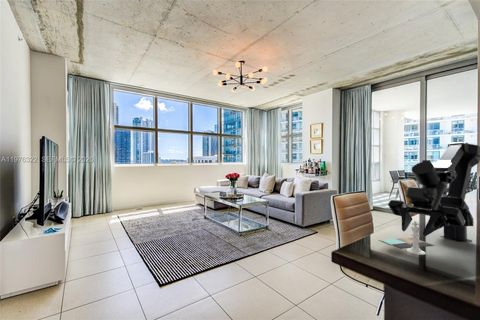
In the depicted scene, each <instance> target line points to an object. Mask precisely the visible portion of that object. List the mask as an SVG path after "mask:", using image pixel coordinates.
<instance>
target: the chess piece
mask: <svg viewBox="0 0 480 320" xmlns="http://www.w3.org/2000/svg"><path fill="white" fill-rule="evenodd" d="M411 225H412V227H411V230H412V234H411V237H413V238H414V239H413V246H412V247H411V248H406V252H408V253H410V254H413V255H419V256H424V255H426V252H425V251H423V250H422V249H421V247H419V244H418V240H419V239H418V238H420V237H421V235H420V234H419V231H420V227H418V226H419V225H420V224H419V223H417V221H416V220H415V221H413V222H412V223H411Z"/></svg>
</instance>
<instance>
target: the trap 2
mask: <svg viewBox="0 0 480 320" xmlns="http://www.w3.org/2000/svg"><path fill="white" fill-rule="evenodd" d="M426 242H427V241H424V242H421V243H418V244H419V248H423V247H422V246H427V247H434V246H433V245H434V244H433V243H430V242H427V243H426ZM429 243H430V244H429ZM411 244H412V245H413V243H411ZM432 244H433V245H432Z"/></svg>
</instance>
